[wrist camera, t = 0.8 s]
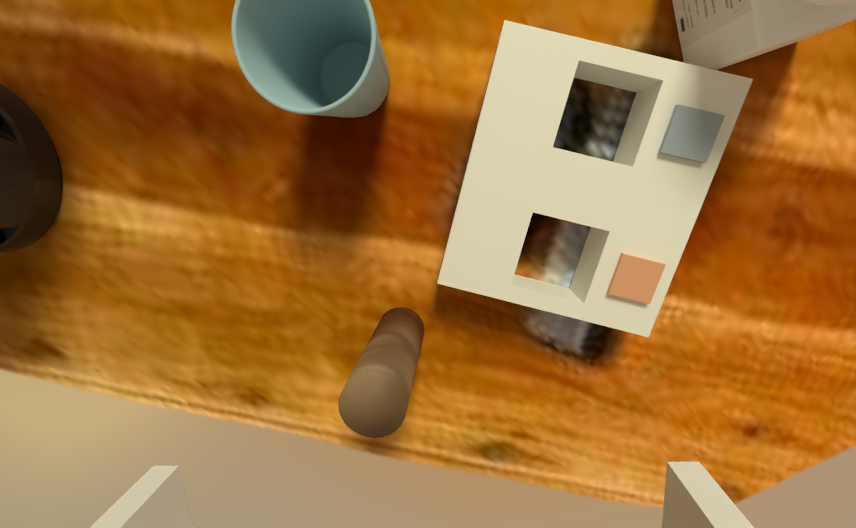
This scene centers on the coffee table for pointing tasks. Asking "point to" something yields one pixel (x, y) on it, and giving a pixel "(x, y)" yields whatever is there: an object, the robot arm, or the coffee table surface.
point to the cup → (312, 55)
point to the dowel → (383, 376)
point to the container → (751, 26)
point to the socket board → (588, 176)
